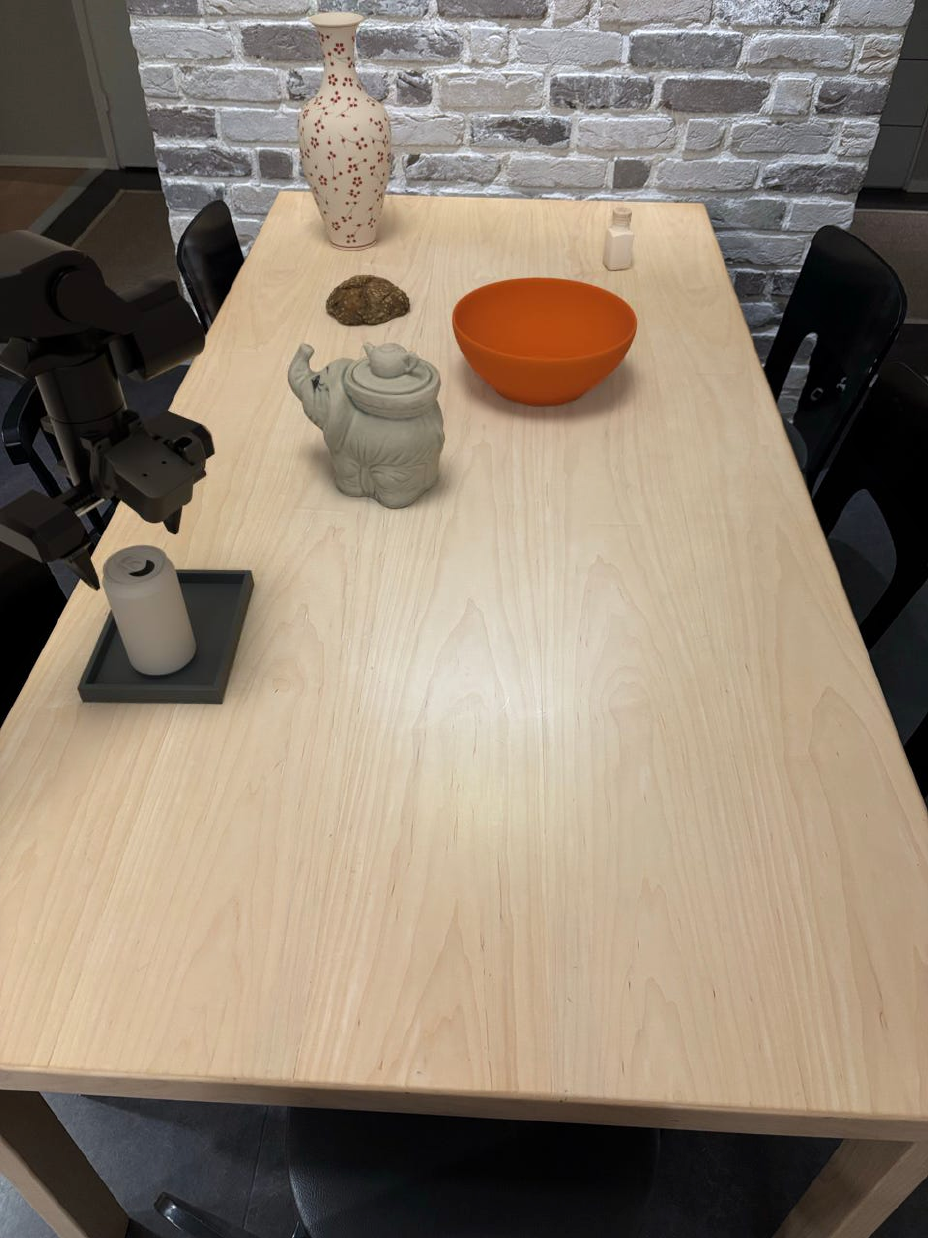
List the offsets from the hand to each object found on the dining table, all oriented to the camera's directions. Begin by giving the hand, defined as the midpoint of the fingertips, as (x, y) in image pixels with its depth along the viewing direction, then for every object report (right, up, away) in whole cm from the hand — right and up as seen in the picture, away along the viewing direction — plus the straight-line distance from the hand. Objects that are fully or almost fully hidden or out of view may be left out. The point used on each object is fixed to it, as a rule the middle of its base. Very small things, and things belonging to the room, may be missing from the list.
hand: (135, 559), depth 81 cm
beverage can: (0, -9, +9) cm, 13 cm away
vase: (+9, +64, +87) cm, 108 cm away
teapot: (+18, +12, +32) cm, 39 cm away
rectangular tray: (0, -7, +11) cm, 13 cm away
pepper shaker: (+56, +57, +79) cm, 112 cm away
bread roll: (+13, +45, +66) cm, 81 cm away
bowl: (+40, +29, +49) cm, 70 cm away
